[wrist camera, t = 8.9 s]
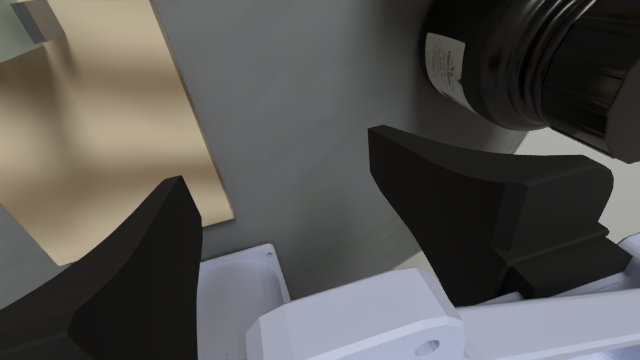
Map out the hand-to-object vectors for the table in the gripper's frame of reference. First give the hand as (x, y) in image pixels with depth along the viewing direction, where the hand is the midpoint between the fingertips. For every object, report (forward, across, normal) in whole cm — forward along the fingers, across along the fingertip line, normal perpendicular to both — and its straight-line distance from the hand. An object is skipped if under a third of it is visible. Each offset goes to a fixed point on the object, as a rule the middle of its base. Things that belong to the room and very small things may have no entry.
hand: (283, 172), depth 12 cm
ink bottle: (+10, -15, -1) cm, 18 cm away
